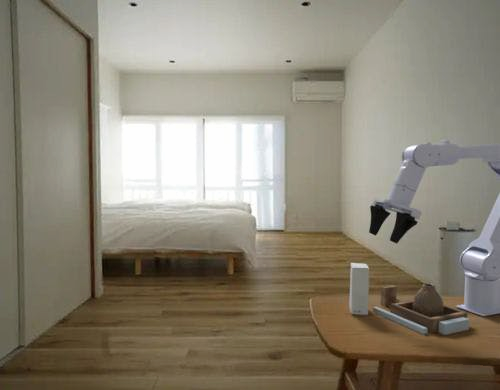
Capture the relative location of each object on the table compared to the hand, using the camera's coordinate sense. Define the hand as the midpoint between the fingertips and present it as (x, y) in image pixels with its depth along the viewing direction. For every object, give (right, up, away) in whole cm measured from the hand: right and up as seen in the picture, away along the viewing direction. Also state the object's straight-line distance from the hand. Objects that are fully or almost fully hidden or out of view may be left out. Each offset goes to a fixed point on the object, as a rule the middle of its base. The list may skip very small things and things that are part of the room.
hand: (382, 238), depth 102 cm
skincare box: (-5, -19, +2) cm, 20 cm away
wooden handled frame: (+8, -19, 0) cm, 21 cm away
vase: (+10, -20, -4) cm, 22 cm away
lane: (+7, -20, -4) cm, 21 cm away
